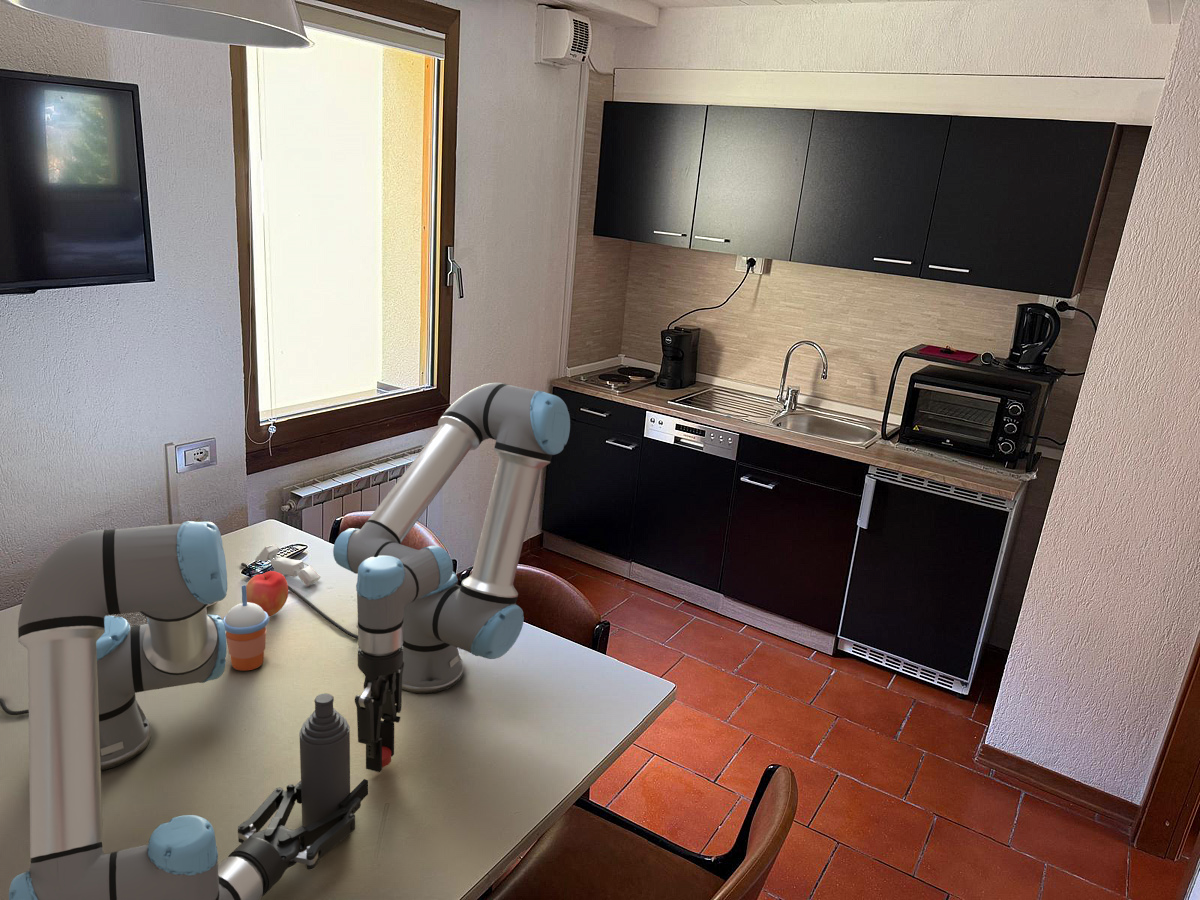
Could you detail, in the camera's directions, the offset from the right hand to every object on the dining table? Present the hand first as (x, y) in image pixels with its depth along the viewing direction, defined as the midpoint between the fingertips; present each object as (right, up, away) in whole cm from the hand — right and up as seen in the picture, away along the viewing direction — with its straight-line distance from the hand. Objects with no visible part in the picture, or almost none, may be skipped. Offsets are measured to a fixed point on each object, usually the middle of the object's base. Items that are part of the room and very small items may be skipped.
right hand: (380, 761), depth 152 cm
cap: (0, +1, 0) cm, 1 cm away
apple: (-39, +17, +49) cm, 64 cm away
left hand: (-3, +1, -12) cm, 12 cm away
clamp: (-41, +23, +68) cm, 83 cm away
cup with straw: (-35, +10, +28) cm, 46 cm away
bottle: (-5, -6, -15) cm, 16 cm away
